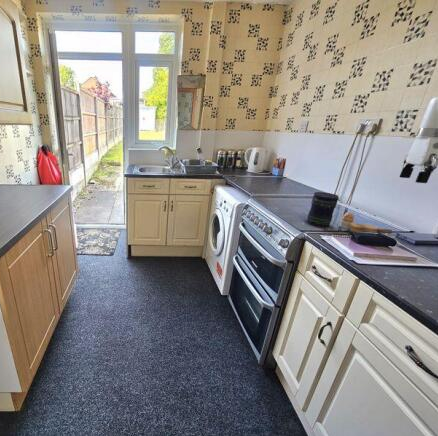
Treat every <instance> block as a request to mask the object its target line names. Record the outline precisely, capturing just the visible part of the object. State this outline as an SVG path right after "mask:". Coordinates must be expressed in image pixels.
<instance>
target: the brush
mask: <svg viewBox="0 0 438 436" xmlns="http://www.w3.org/2000/svg"><path fill="white" fill-rule="evenodd" d="M347 228H348V229H346V230H347V232H348V234H350V235H352V234H353V232H372V233H376V234H377V233H380V234H381V233H382V234H388V235H389V234H391V235H392V234H393V232H394V231H393V230H392V229H387V228H379V227H376V226H374V225H372V224H365V223H364V224H363V223H356V222H355V223H349V224H348V227H347Z"/></svg>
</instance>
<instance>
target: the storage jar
mask: <svg viewBox="0 0 438 436" xmlns="http://www.w3.org/2000/svg"><path fill="white" fill-rule="evenodd" d="M339 197H340V195H338V194H334V193H330V192H323V191H316V192H315V191H314V193H313V196H312V199H311V203H310V205H311V206H310V209H309V211H308V214H307V218H306V219H307V220H306V224H307V225H310V226H312V227H315V228H323V229H327V228H330V225H331V223H332V221H333V217H334V215H333V214H334V212H335V209H336V207H337V205H338V200H339Z"/></svg>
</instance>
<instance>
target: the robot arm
mask: <svg viewBox="0 0 438 436" xmlns="http://www.w3.org/2000/svg"><path fill="white" fill-rule="evenodd" d="M415 166H418V167H420V170H421V171H419V172H418V174H417V176H416V179H415V183H418V184H427V183H428V182H429V179H430V177H431V175H432V173H434V171H435V170H436V169H437V168H438V96H435V97H433V98H432V99H430V101H429V102H428V105H427V107H426V110H425V112H424V115H423V118H422V120H421V122H420V125H419V128H418V130H417V132H416V135H415V139H414V141H413V143H412V145H411V146H410V148H409V150H408V153H407V154H406V155H404V160H403V164H402V169H401V172H400V174H399V178H401V179H410V178H411V176H412V174H413V171H414V169H415V168H414V167H415Z"/></svg>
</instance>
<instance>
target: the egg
mask: <svg viewBox="0 0 438 436" xmlns="http://www.w3.org/2000/svg"><path fill="white" fill-rule="evenodd" d="M349 223H356V222H355V214H353V213H351V212H346V213H344V214H343V215H342V218H339V221H338V224H337V226H338V227H340V228H342V229H346V230H348V228H347V227H348V224H349Z"/></svg>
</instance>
